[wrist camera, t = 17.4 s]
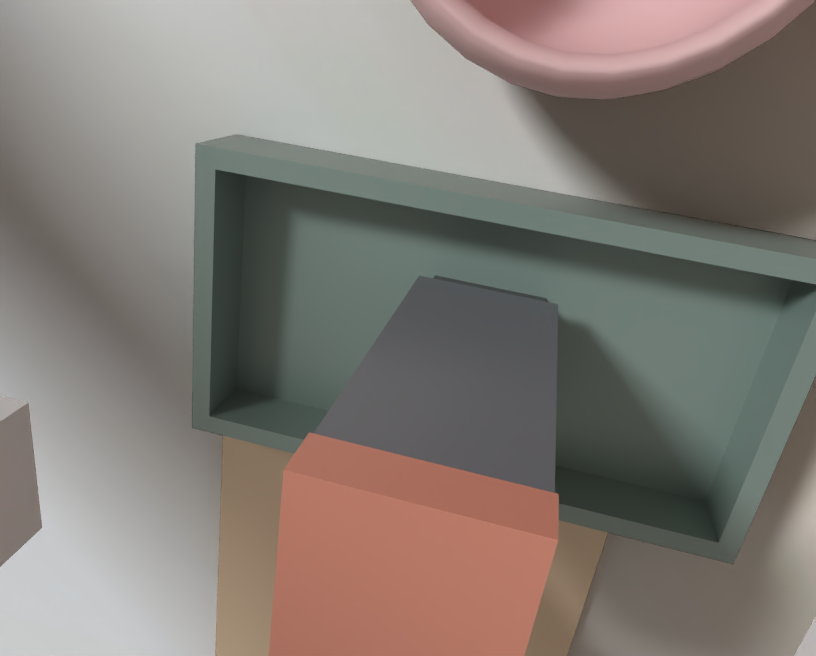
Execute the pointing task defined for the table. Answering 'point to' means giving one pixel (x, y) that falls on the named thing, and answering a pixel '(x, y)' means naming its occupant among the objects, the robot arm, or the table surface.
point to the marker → (427, 486)
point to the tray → (525, 273)
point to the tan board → (257, 551)
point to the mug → (606, 40)
